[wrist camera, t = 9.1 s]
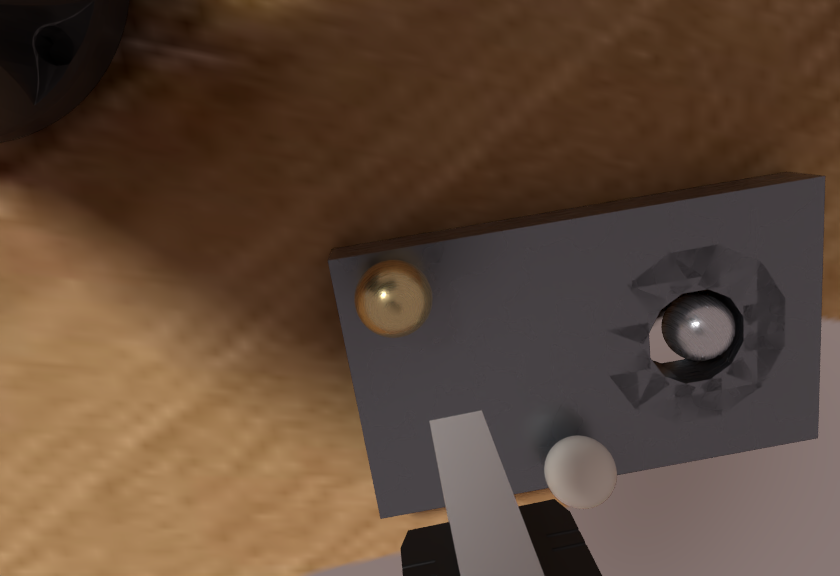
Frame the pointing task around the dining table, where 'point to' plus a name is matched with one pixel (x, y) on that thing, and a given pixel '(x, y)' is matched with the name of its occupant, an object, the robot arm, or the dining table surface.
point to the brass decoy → (393, 298)
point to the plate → (595, 334)
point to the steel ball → (698, 327)
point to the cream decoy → (580, 472)
